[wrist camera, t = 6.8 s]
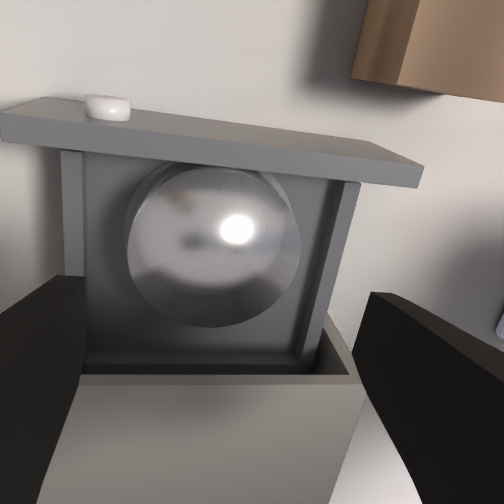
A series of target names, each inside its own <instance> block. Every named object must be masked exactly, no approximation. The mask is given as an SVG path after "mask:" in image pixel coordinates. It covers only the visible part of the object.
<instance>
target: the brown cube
mask: <svg viewBox="0 0 504 504" xmlns="http://www.w3.org/2000/svg"><path fill="white" fill-rule="evenodd" d="M350 78H354V79H360V80H365V81H371V82H377V83H383V84H388V85H394V86H400V87H406V88H412V89H417V90H423V91H429V92H435V93H441V94H446V95H453V96H460V97H467V98H474V99H480V100H487V101H494V102H501V103H504V0H368V4H367V8H366V12H365V17H364V21H363V25H362V30H361V34H360V38H359V42H358V47H357V51H356V55H355V60H354V64H353V68H352V73H351V77H350Z"/></svg>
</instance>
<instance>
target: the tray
mask: <svg viewBox="0 0 504 504" xmlns="http://www.w3.org/2000/svg"><path fill="white" fill-rule="evenodd" d="M130 107H131V101H130V100H127V99H123V98H118V97H112V96H104V95H85V102H79V101H72V100H65V99H58V98H50V97H43V98H40V99H37V100H34V101H31V102H28V103H25V104H22V105H19V106H16V107H13V108H10V109H6V110H3V111H0V130H1V141H2V142H11V143H19V144H28V145H37V146H46V147H55V148H62V149H61V150H60V156H61V183H62V210H63V237H64V265H65V275H66V276H85V277H86V335H87V349H86V354H85V358H84V363H83V368H82V372H81V375H310V373H311V369H312V366H313V362H314V358H315V354H316V351H317V347H318V343H319V340H320V336H321V332H322V328H323V325H324V321H325V317H326V314H327V310H328V306H329V302H330V299H331V295H332V291H333V287H334V284H335V280H336V276H337V273H338V269H339V265H340V261H341V258H342V254H343V250H344V247H345V243H346V239H347V235H348V232H349V228H350V224H351V221H352V217H353V213H354V209H355V206H356V202H357V198H358V195H359V191H360V187H361V183H359V182H364V183H372V184H381V185H390V186H399V187H408V188H418V185H419V182H420V179H421V176H422V172H423V169H424V166H423V165H421V164H418V163H416V162H414V161H412V160H409V159H407V158H405V157H403V156H400V155H398V154H396V153H394V152H391V151H389V150H387V149H385V148H382V147H380V146H378V145H376V144H373V143H371V142H369V141H363V140H355V139H348V138H341V137H334V136H326V135H319V134H312V133H305V132H297V131H290V130H283V129H275V128H268V127H261V126H254V125H246V124H239V123H232V122H225V121H217V120H210V119H203V118H196V117H188V116H181V115H174V114H167V113H159V112H152V111H145V110H138V109H130ZM180 162H187V163H196V164H205V165H214V166H222V167H231V168H240V169H249V170H258V171H259V172H260V173H262V174H263V175H264V176H265V177H266V178H267V179H268V180H269V181H270V182H271V184H272V185H273V186H274V187H275V189H276V190H277V191H278V193H279V194H280V196H281V197H282V198H283V200H284V201H285V202H286V204H287V205H288V206H289V208H290V210H291V212H292V213H293V215H294V217H295V220H296V222H297V225H298V229H299V233H300V240H301V253H300V260H299V265H298V268H297V271H296V274H295V276H294V278H293V280H292V282H291V284H290V285H289V287H288V288H287V290H286V291H285V293H284V294H283V295H282V296H281V297H280V298H279V300H277V301H276V302H275V303H274V304H273V305H272V306H271V307H270V308H268V309H267V310H266V311H264V312H263V313H261V314H259V315H258V316H256V317H254V318H252V319H249V320H247V321H245V322H242V323H239V324H236V325H231V326H226V327H217V328H204V327H195V326H190V325H186V324H183V323H180V322H177V321H174V320H172V319H170V318H168V317H166V316H165V315H163V314H162V313H160V312H159V311H157V310H156V309H155V308H153V307H152V306H151V305H150V304H149V303H148V302H147V301H146V300H145V299H144V297H143V296H142V295H141V293H140V292H139V290H138V289H137V287H136V285H135V283H134V281H133V279H132V276H131V273H130V270H129V265H128V258H127V247H128V240H129V235H130V231H131V227H132V223H133V220H134V216H135V212H136V209H137V206H138V203H139V201H140V199H141V197H142V195H143V193H144V192H145V190H146V189H147V187H148V186H149V185H150V184H151V183H152V182H153V180H154V179H155V178H156V177H158V176H159V175H160V174H161V173H162V172H164V171H165V170H167V169H168V168H170V167H171V166H173V165H175V164H178V163H180Z"/></svg>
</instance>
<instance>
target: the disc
mask: <svg viewBox="0 0 504 504" xmlns="http://www.w3.org/2000/svg"><path fill="white" fill-rule="evenodd" d="M300 253H301V240H300V233H299V229H298V225H297V222H296V220H295V217H294V215H293V213H292V212H291V210H290V208H289V206H288V205H287V204H286V202H285V201H284V200H283V198H282V197H281V196H280V194H279V193H278V191H277V190H276V189H275V187H274V186H273V185H272V184H271V182H270V181H269V180H268V179H267V178H266V177H265V176H264V175H263V174H262V173H260V172H259V171H258V170H249V169H240V168H231V167H222V166H214V165H205V164H196V163H187V162H180V163H178V164H175V165H173V166H171V167H170V168H168V169H167V170H165V171H164V172H162V173H161V174H160V175H159V176H158V177H156V178H155V179H154V180H153V182H152V183H151V184H150V185H149V186H148V187H147V189H146V190H145V192H144V193H143V195H142V197H141V199H140V201H139V203H138V206H137V209H136V212H135V216H134V220H133V223H132V227H131V231H130V235H129V240H128V247H127V258H128V265H129V270H130V273H131V276H132V279H133V281H134V283H135V285H136V287H137V289H138V290H139V292H140V293H141V295H142V296H143V297H144V299H145V300H146V301H147V302H148V303H149V304H150V305H151V306H152V307H153V308H155V309H156V310H157V311H159V312H160V313H162V314H163V315H165V316H166V317H168V318H170V319H172V320H174V321H177V322H180V323H183V324H186V325H190V326H195V327H204V328H217V327H226V326H231V325H236V324H239V323H242V322H245V321H247V320H249V319H252V318H254V317H256V316H258V315H259V314H261V313H263V312H264V311H266V310H267V309H268V308H270V307H271V306H272V305H273V304H274V303H275V302H276V301H277V300H279V298H280V297H281V296H282V295H283V294H284V293H285V291H286V290H287V288H288V287H289V285H290V284H291V282H292V280H293V278H294V276H295V274H296V271H297V268H298V265H299V260H300Z"/></svg>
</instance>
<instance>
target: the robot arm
mask: <svg viewBox="0 0 504 504" xmlns="http://www.w3.org/2000/svg"><path fill="white" fill-rule="evenodd" d="M496 334H497V335H498V336H499V337H500V338H501V339H502V340H504V314H503V316H502V318H501V320H500V322H499V324H498V326H497V329H496ZM86 349H87V335H86V277H85V276H66V275H57V276H55V277H54V278H52V279H50V280H49V281H47V282H46V283H45V284H43V285H42V286H40V287H39V288H37V289H36V290H35V291H33V292H32V293H30V294H29V295H28V296H26V297H25V298H23V299H22V300H20V301H19V302H17V303H16V304H14V305H13V306H11V307H10V308H8V309H7V310H5V311H4V312H2V313H1V314H0V504H36V503H37V500H38V497H39V494H40V490H41V487H42V484H43V481H44V478H45V475H46V473H47V470H48V467H49V465H50V462H51V459H52V457H53V454H54V451H55V448H56V446H57V443H58V440H59V438H60V435H61V432H62V429H63V427H64V424H65V421H66V419H67V416H68V413H69V410H70V408H71V405H72V402H73V399H74V397H75V394H76V391H77V388H78V385H79V380H80V376H81V372H82V368H83V363H84V358H85V354H86ZM351 354H352V357H353V359H354V362H355V365H356V368H357V371H358V374H359V377H360V379H361V382H362V384H363V387H364V389H365V391H366V393H367V395H368V397H369V399H370V401H371V402H372V404H373V406H374V408H375V410H376V412H377V414H378V416H379V418H380V419H381V421H382V423H383V425H384V427H385V429H386V430H387V432H388V434H389V436H390V438H391V440H392V442H393V443H394V445H395V447H396V449H397V451H398V453H399V455H400V456H401V458H402V460H403V462H404V464H405V466H406V468H407V470H408V472H409V474H410V476H411V478H412V480H413V482H414V485H415V487H416V489H417V492H418V494H419V497H420V499H421V501H422V504H504V352H502V351H500V350H498V349H496V348H494V347H492V346H490V345H488V344H486V343H485V342H483V341H481V340H479V339H477V338H475V337H473V336H472V335H470V334H468V333H466V332H464V331H463V330H461V329H459V328H457V327H455V326H454V325H452V324H450V323H448V322H447V321H445V320H443V319H441V318H439V317H438V316H436V315H434V314H432V313H430V312H429V311H427V310H425V309H423V308H421V307H420V306H418V305H416V304H414V303H412V302H410V301H408V300H406V299H404V298H402V297H400V296H397V295H395V294H393V293H382V292H371V293H370V296H369V299H368V302H367V305H366V309H365V312H364V315H363V318H362V321H361V325H360V328H359V331H358V334H357V337H356V341H355V344H354V347H353V350H352V353H351Z"/></svg>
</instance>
